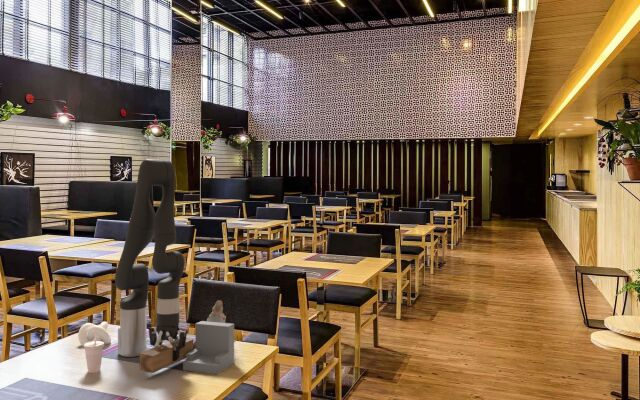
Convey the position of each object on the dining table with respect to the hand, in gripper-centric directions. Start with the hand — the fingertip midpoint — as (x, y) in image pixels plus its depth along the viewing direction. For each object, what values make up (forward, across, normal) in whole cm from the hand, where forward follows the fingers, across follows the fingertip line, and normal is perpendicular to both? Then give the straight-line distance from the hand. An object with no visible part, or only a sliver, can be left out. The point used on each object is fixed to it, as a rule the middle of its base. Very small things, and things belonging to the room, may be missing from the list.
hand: (167, 359), depth 172 cm
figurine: (+3, -1, +32) cm, 33 cm away
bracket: (+4, +12, +9) cm, 15 cm away
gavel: (+6, -2, +25) cm, 26 cm away
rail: (+1, 0, 0) cm, 1 cm away
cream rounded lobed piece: (+5, -42, +15) cm, 45 cm away
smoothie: (+4, -22, -9) cm, 24 cm away
